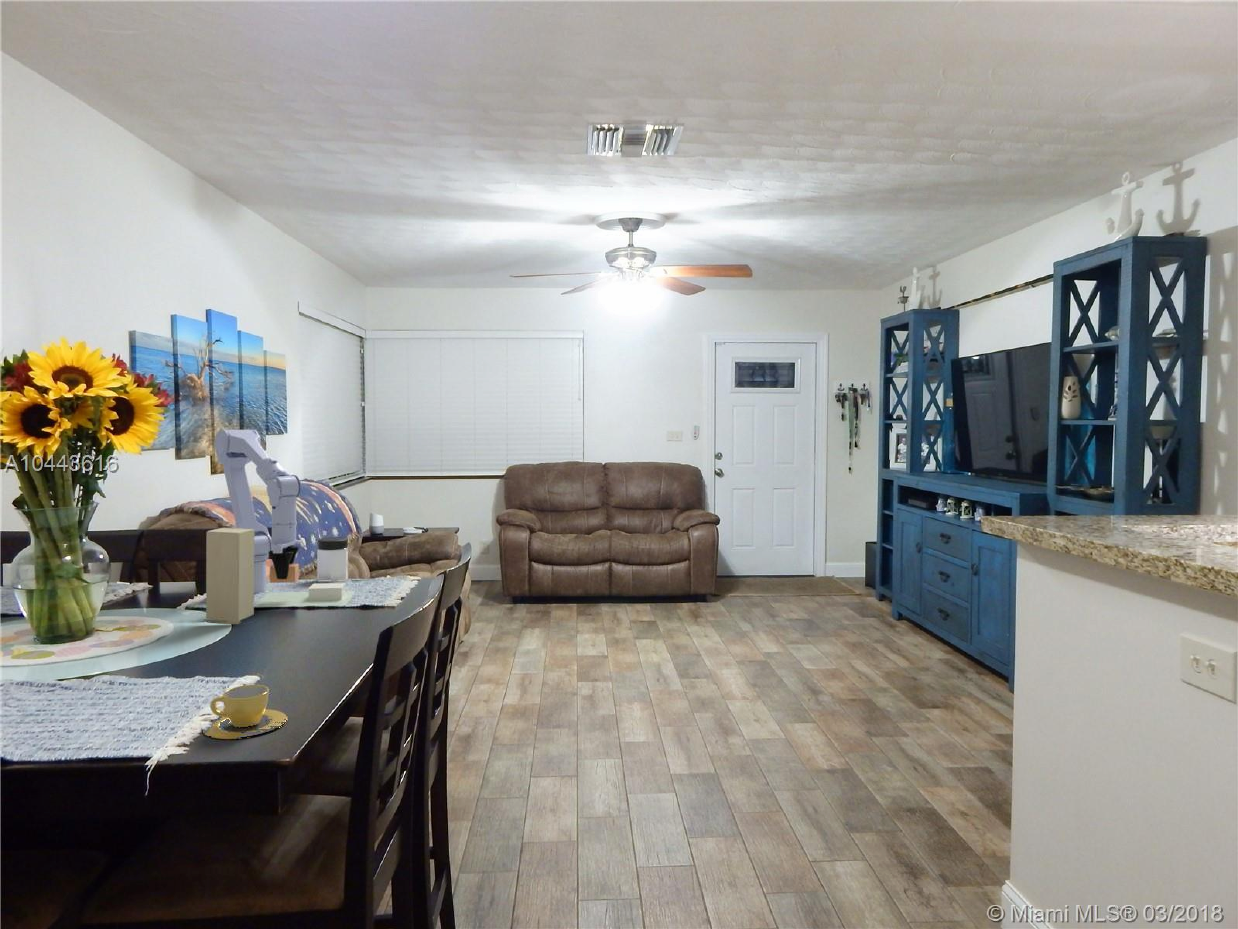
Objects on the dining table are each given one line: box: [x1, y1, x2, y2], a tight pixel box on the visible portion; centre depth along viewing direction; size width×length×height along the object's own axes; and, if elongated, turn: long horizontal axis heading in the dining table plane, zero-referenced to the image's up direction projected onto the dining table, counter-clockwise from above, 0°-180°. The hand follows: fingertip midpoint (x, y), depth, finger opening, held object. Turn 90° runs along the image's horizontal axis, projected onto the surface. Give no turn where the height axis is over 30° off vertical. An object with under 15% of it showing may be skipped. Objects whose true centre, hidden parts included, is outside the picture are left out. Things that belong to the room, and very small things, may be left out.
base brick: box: [308, 582, 346, 600], centre depth 206 cm, size 8×6×3 cm
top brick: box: [269, 563, 300, 584], centre depth 202 cm, size 6×4×4 cm, turn 100°
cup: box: [204, 684, 288, 740], centre depth 123 cm, size 12×12×5 cm
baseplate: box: [254, 590, 356, 608], centre depth 204 cm, size 22×16×1 cm
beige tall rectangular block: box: [205, 527, 255, 625], centre depth 184 cm, size 8×7×21 cm
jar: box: [316, 536, 349, 583], centre depth 231 cm, size 9×8×12 cm
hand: (284, 577), depth 202 cm, fingers closed on top brick, 4 cm apart
